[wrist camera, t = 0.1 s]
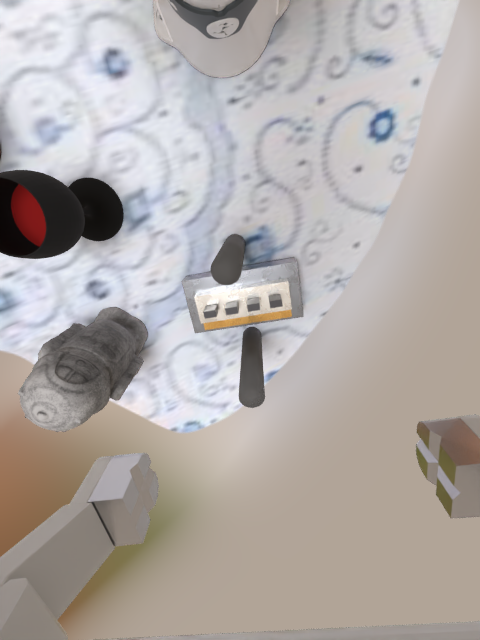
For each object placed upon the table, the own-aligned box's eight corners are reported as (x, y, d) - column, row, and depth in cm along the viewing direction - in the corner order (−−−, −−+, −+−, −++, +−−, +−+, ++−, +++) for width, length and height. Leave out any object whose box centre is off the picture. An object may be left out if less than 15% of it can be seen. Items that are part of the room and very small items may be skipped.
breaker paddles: (205, 306, 52) (203, 311, 49) (280, 294, 51) (281, 299, 48) (207, 312, 52) (204, 318, 50) (281, 300, 51) (282, 306, 48)
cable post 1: (223, 236, 53) (207, 257, 35) (243, 232, 53) (238, 252, 35) (227, 256, 55) (214, 287, 36) (246, 253, 54) (244, 282, 36)
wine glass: (61, 173, 51) (-50, 160, 32) (123, 181, 51) (49, 173, 32) (66, 237, 55) (-29, 258, 36) (124, 244, 55) (59, 269, 36)
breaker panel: (186, 275, 56) (179, 284, 51) (294, 257, 54) (298, 264, 49) (198, 324, 60) (193, 337, 55) (300, 308, 58) (305, 320, 52)
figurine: (142, 366, 64) (80, 462, 41) (79, 332, 62) (-24, 414, 39) (162, 331, 61) (108, 414, 38) (97, 294, 58) (-4, 359, 35)
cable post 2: (241, 328, 60) (236, 387, 42) (259, 325, 60) (262, 384, 41) (244, 344, 61) (241, 409, 43) (262, 342, 61) (266, 405, 43)
